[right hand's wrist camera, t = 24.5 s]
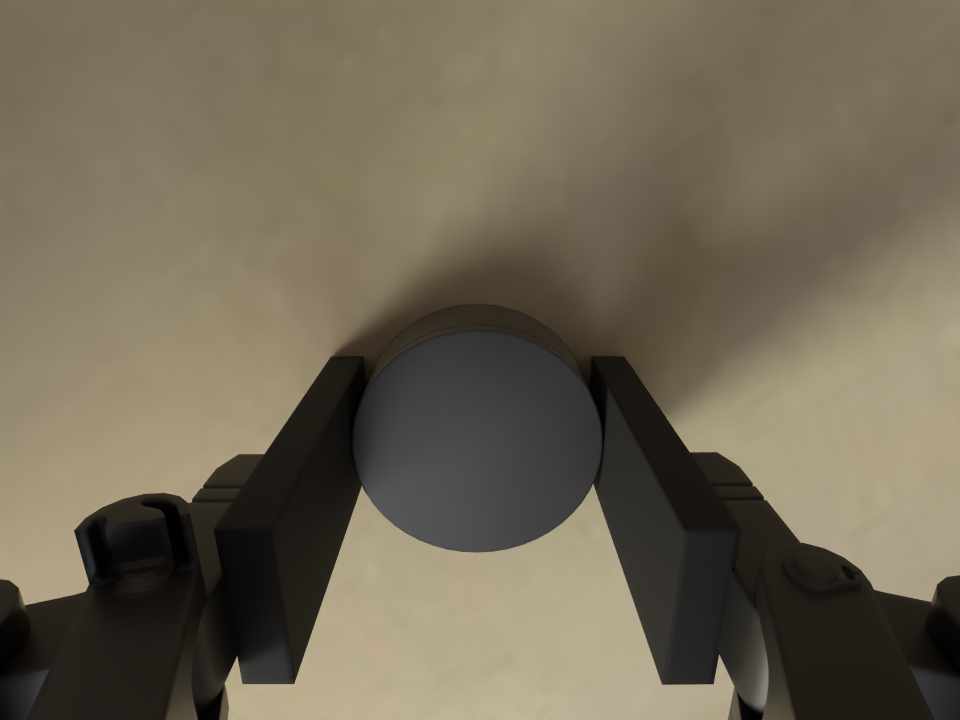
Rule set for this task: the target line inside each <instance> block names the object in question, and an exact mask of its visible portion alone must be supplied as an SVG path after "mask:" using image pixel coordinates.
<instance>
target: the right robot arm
mask: <svg viewBox="0 0 960 720" xmlns="http://www.w3.org/2000/svg"><path fill="white" fill-rule="evenodd" d="M365 388H366V384H365V370H364V357H363V356H331V358H330V359H329V360H328V362H327V363H326V365H325V366H324V368H323V369H322V371H321V372H320V374H319V375H318V377H317V378H316V380H315V381H314V382H313V384H312V385H311V387H310V388H309V390H308V391H307V393H306V394H305V396H304V397H303V399H302V400H301V402H300V403H299V405H298V406H297V407H296V409H295V410H294V412H293V413H292V415H291V416H290V418H289V419H288V421H287V422H286V424H285V425H284V427H283V428H282V429H281V431H280V432H279V434H278V435H277V437H276V438H275V440H274V441H273V443H272V444H271V446H270V447H269V449H268V450H267V451H266V453H265V454H239V455H237V456H236V457H234V458H232V459H231V460H229V461H228V462H226V463H225V464H223V465H222V466H220V467H218V468H217V469H216V470H215V471H214V473H213V474H212V475H211V476H210V478H209V479H208V480H207V481H206V483H205V484H204V485H203V489H200V490H199V491H198V493H197V494H196V495H195V496H194V498H193V499H192V503H189V504H188V503H187V502H186V501H185V500H184V499H182V498H181V497H180V496H176V495H171V494H166V493H156V494H143V495H138V496H134V497H130V498H125V499H122V500H120V501H117V502H115V503H112V504H110V505H107V506H105V507H102V508H101V509H99V510H98V511H96V512H95V513H93V514H91V515H90V516H88V517H87V518H85V519H84V520H83V522H82V523H81V524H80V525H79V526H78V527H77V528H76V529H75V530H74V532H75V535H76V539H77V542H78V546H79V549H80V553H81V556H82V560H83V563H84V567H85V570H86V574H87V577H88V581H89V586H88V588H87V590H86V592H83V593H80V594H76V595H72V596H67V597H62V598H58V599H53V600H48V601H43V602H39V603H34V604H29V605H24V602H23V600H22V597H21V594H20V591H19V588H18V587H17V586H16V585H14V584H13V583H12V582H10V581H9V580H1V579H0V720H227V718H228V710H229V706H228V698H227V692H226V687H225V681H226V679H227V677H228V674H229V672H230V670H231V668H232V666H233V664H234V662H235V660H236V657H237V656H238V662H239V667H240V672H241V678H242V683H243V684H294V683H295V680H296V677H297V674H298V671H299V668H300V665H301V662H302V659H303V656H304V653H305V651H306V648H307V645H308V642H309V639H310V636H311V633H312V630H313V627H314V624H315V621H316V618H317V615H318V612H319V610H320V607H321V604H322V601H323V598H324V595H325V592H326V589H327V586H328V583H329V580H330V577H331V574H332V571H333V568H334V566H335V563H336V560H337V557H338V554H339V551H340V548H341V545H342V542H343V539H344V536H345V533H346V530H347V527H348V524H349V522H350V519H351V516H352V513H353V510H354V507H355V504H356V501H357V498H358V495H359V492H360V489H361V486H362V484H361V482H360V480H359V478H358V475H357V472H356V469H355V465H354V460H353V454H352V428H353V421H354V417H355V414H356V411H357V407H358V405H359V402H360V400H361V398H362V395H363V393H364V390H365ZM590 392H591V394H592V396H593V398H594V400H595V403H596V405H597V408H598V412H599V415H600V418H601V424H602V431H603V450H602V457H601V463H600V466H599V469H598V473H597V476H596V478H595V480H594V482H593V484H594V487H595V490H596V493H597V496H598V499H599V502H600V504H601V507H602V510H603V513H604V516H605V519H606V522H607V525H608V528H609V531H610V534H611V537H612V540H613V542H614V545H615V548H616V551H617V554H618V557H619V560H620V563H621V566H622V569H623V572H624V575H625V577H626V580H627V583H628V586H629V589H630V592H631V595H632V598H633V601H634V604H635V607H636V610H637V613H638V615H639V618H640V621H641V624H642V627H643V630H644V633H645V636H646V639H647V642H648V645H649V648H650V650H651V653H652V656H653V659H654V662H655V665H656V668H657V671H658V674H659V677H660V680H661V683H662V685H673V684H714V679H715V673H716V668H717V662H718V657H719V654H720V657H721V659H722V661H723V663H724V665H725V667H726V669H727V671H728V673H729V676H730V678H731V680H732V682H733V684H734V686H735V687H734V692H733V697H732V702H731V707H730V712H729V717H728V720H960V575H959V576H951V577H946V578H945V579H944V580H942V581H941V582H940V583H939V584H937V587H936V590H935V593H934V596H933V599H932V602H928V601H923V600H918V599H913V598H909V597H904V596H899V595H894V594H889V593H884V592H880V591H876V590H874V589H873V587H872V585H871V583H870V582H869V580H868V579H867V578H866V576H865V575H864V574H863V572H862V571H861V570H860V569H859V568H857V567H856V566H855V565H853V564H852V563H851V562H849V561H848V560H847V559H845V558H844V557H842V556H839V555H837V554H835V553H833V552H831V551H829V550H827V549H824V548H821V547H817V546H813V545H809V544H805V543H800V542H799V540H798V539H797V538H796V537H795V535H794V534H793V533H792V532H791V530H790V529H789V528H788V527H787V525H786V524H785V523H784V522H783V520H782V519H781V518H780V517H779V515H778V514H777V513H776V512H775V510H774V509H773V508H772V507H771V505H770V504H769V503H768V502H767V500H764V497H763V495H762V494H761V493H760V492H759V490H758V489H757V488H756V487H755V486H753V485H752V484H753V483H752V482H751V481H750V479H749V478H748V477H747V476H746V474H745V473H744V472H743V471H742V469H741V468H740V467H739V466H738V465H736V464H735V463H733V462H731V461H730V460H728V459H727V458H725V457H723V456H722V455H720V454H719V453H717V452H689V451H688V449H687V448H686V446H685V445H684V443H683V442H682V440H681V439H680V438H679V436H678V435H677V433H676V432H675V430H674V429H673V427H672V426H671V424H670V423H669V421H668V420H667V418H666V417H665V416H664V414H663V413H662V411H661V410H660V408H659V407H658V405H657V404H656V402H655V401H654V399H653V398H652V396H651V395H650V394H649V392H648V391H647V389H646V388H645V386H644V385H643V383H642V382H641V380H640V379H639V377H638V376H637V374H636V373H635V372H634V370H633V369H632V367H631V366H630V364H629V363H628V361H627V360H626V358H625V357H592V364H591V379H590Z"/></svg>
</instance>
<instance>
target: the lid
mask: <svg viewBox="0 0 960 720" xmlns="http://www.w3.org/2000/svg"><path fill="white" fill-rule="evenodd" d="M602 450H603V431H602V424H601V418H600V415H599V412H598V408H597V405H596V403H595V400H594V398H593V396H592V394H591V392H590V389H589V387H588V385H587V383H586V380H585V378H584V376H583V374H582V372H581V369H580V367H579V365H578V363H577V361H576V359H575V357H574V356H573V354H572V353H571V351H570V350H569V348H568V347H567V346H566V345H565V344H564V343H563V341H562V340H561V339H560V338H559V337H558V336H557V335H556V334H555V333H553V332H552V331H551V330H550V329H549V328H548V327H546V326H544V325H543V324H541V323H540V322H538V321H537V320H535V319H533V318H531V317H529V316H527V315H525V314H522V313H520V312H517V311H514V310H511V309H507V308H502V307H497V306H491V305H464V306H457V307H452V308H447V309H444V310H441V311H438V312H435V313H432V314H430V315H428V316H425V317H423V318H421V319H419V320H417V321H416V322H414V323H413V324H411V325H410V326H408V327H407V328H405V329H404V330H403V331H402V332H401V333H400V334H399V335H397V336H396V337H395V338H394V339H393V340H392V342H391V343H390V344H389V345H388V346H387V347H386V349H385V350H384V351H383V353H382V355H381V356H380V358H379V359H378V361H377V363H376V365H375V367H374V370H373V372H372V374H371V376H370V379H369V381H368V383H367V386H366V388H365V390H364V393H363V395H362V398H361V400H360V402H359V405H358V407H357V411H356V414H355V417H354V421H353V428H352V454H353V460H354V465H355V469H356V472H357V475H358V478H359V480H360V482H361V484H362V486H363V488H364V490H365V492H366V494H367V495H368V497H369V498H370V500H371V501H372V503H373V504H374V505H375V507H376V508H377V509H378V510H379V511H380V512H381V513H382V515H384V516H385V517H386V518H387V519H388V520H389V521H390V522H391V523H393V524H394V525H395V526H397V527H398V528H399V529H401V530H402V531H404V532H405V533H407V534H409V535H411V536H413V537H414V538H416V539H418V540H420V541H423V542H426V543H428V544H431V545H433V546H437V547H441V548H444V549H448V550H455V551H461V552H492V551H499V550H505V549H510V548H513V547H517V546H520V545H523V544H526V543H528V542H531V541H533V540H535V539H538V538H539V537H541V536H543V535H545V534H547V533H549V532H550V531H552V530H553V529H554V528H556V527H557V526H559V525H560V524H561V523H563V522H564V521H565V520H566V519H567V518H568V517H569V516H570V515H571V514H572V513H573V512H574V511H575V510H576V509H577V508H578V506H579V505H580V504H581V503H582V502H583V500H584V498H585V497H586V495H587V494H588V492H589V491H590V489H591V487H592V485H593V482H594V480H595V478H596V476H597V473H598V469H599V466H600V463H601V457H602Z"/></svg>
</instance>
